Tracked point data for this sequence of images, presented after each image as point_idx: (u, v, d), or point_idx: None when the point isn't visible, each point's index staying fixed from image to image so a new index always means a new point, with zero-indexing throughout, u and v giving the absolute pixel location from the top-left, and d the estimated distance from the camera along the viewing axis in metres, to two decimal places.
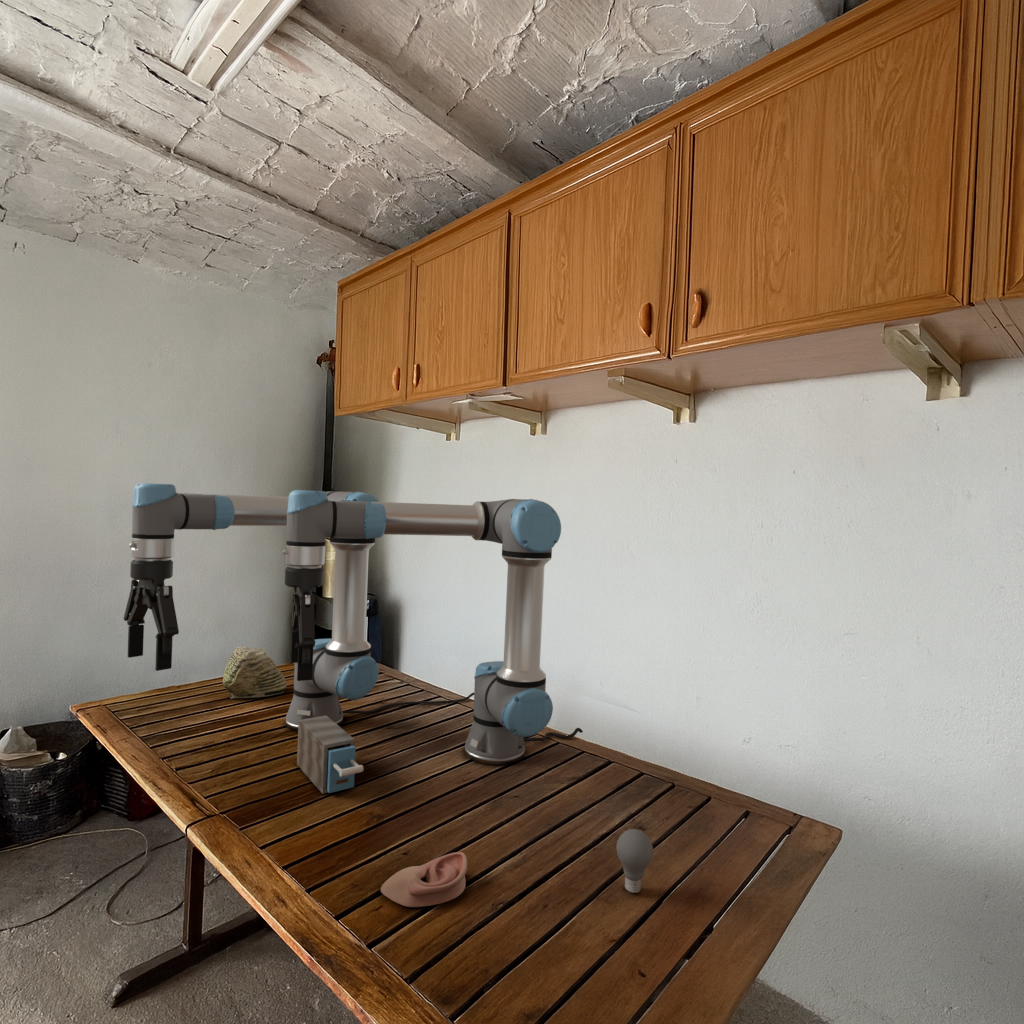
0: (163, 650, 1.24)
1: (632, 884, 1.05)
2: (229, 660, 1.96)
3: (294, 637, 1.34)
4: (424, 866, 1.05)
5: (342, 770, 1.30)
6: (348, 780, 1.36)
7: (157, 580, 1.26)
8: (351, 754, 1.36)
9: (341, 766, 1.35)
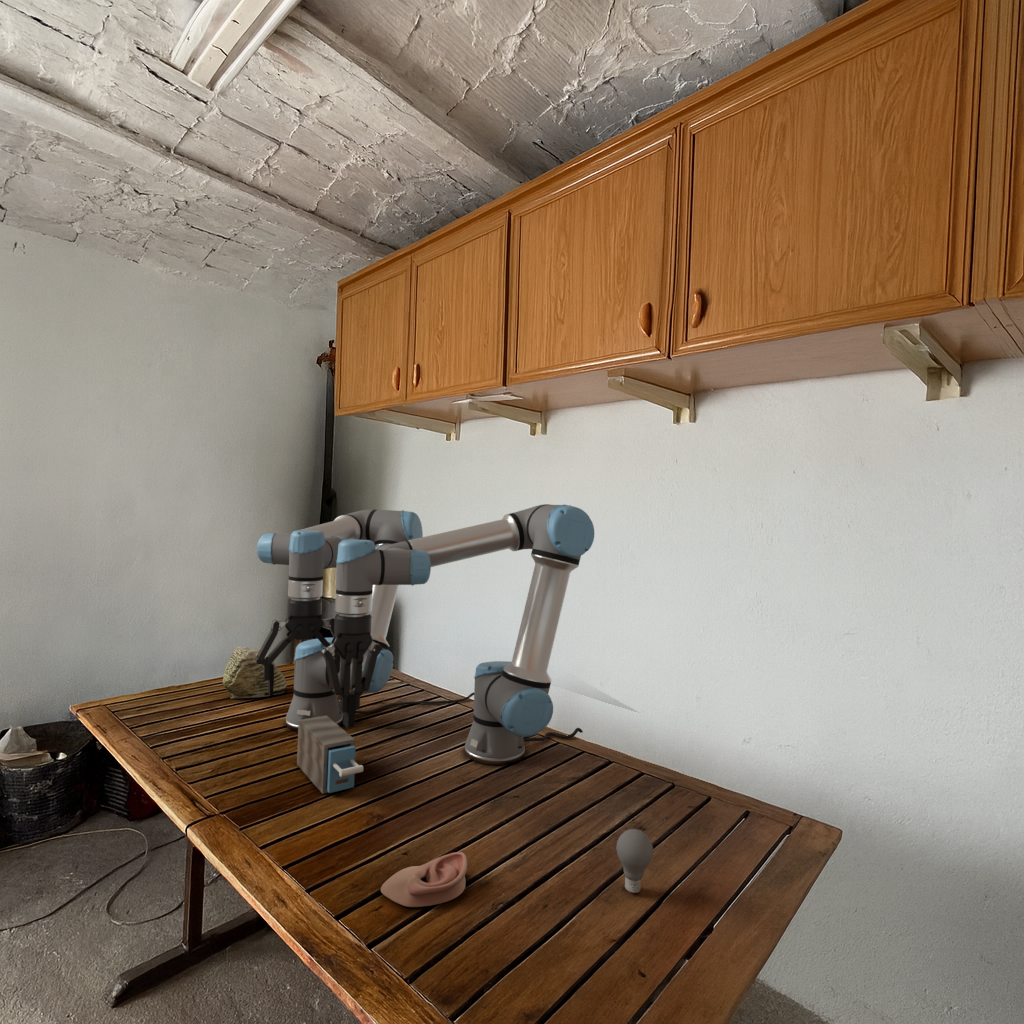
0: (338, 670, 1.48)
1: (632, 884, 1.05)
2: (229, 660, 1.96)
3: None
4: (424, 866, 1.05)
5: (342, 770, 1.30)
6: (348, 780, 1.36)
7: (321, 614, 1.46)
8: (351, 754, 1.36)
9: (341, 766, 1.35)
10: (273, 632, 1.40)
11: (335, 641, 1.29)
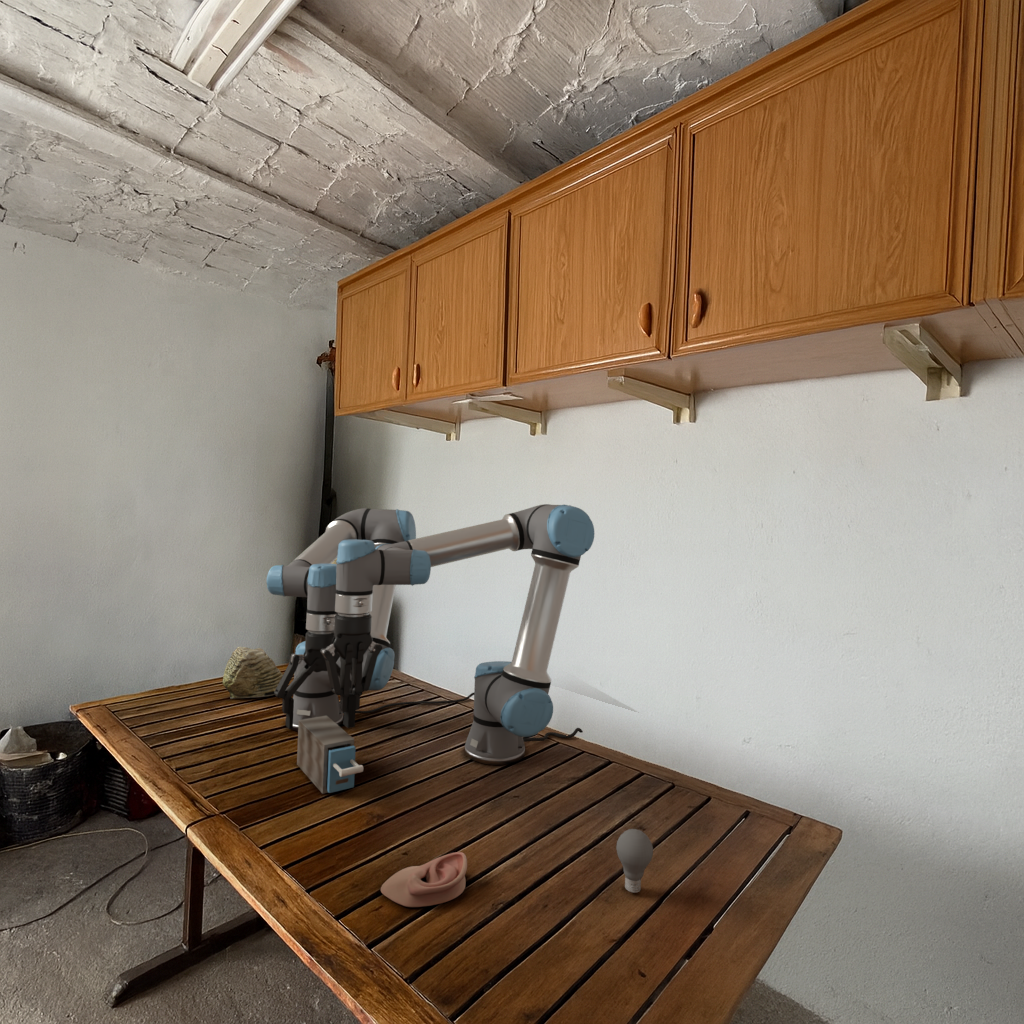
0: None
1: (632, 884, 1.05)
2: (229, 660, 1.96)
3: None
4: (424, 866, 1.05)
5: (342, 770, 1.30)
6: (348, 780, 1.36)
7: None
8: (351, 754, 1.36)
9: (341, 766, 1.35)
10: (293, 666, 1.42)
11: (335, 641, 1.29)
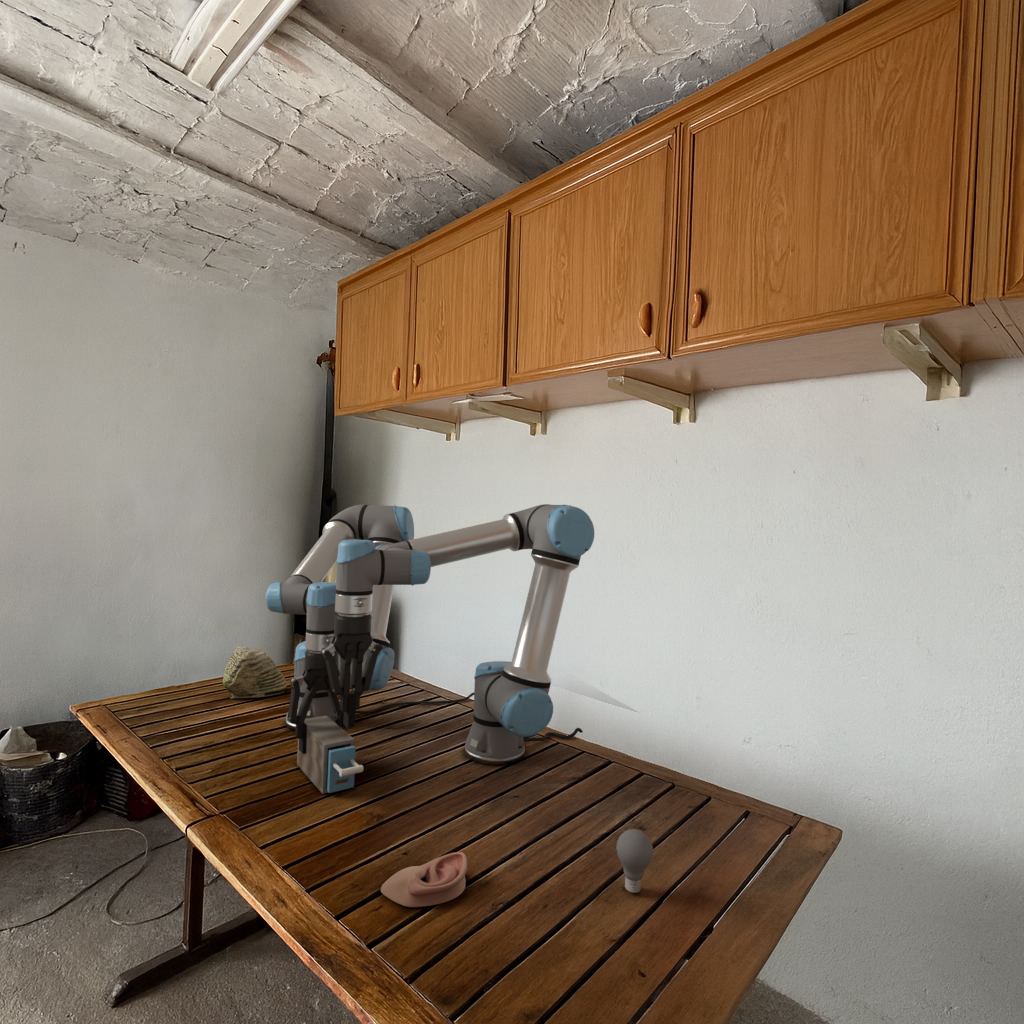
0: None
1: (632, 884, 1.05)
2: (229, 660, 1.96)
3: None
4: (424, 866, 1.05)
5: (342, 770, 1.30)
6: (348, 780, 1.36)
7: None
8: (351, 754, 1.36)
9: (341, 766, 1.35)
10: (296, 690, 1.42)
11: (335, 641, 1.29)
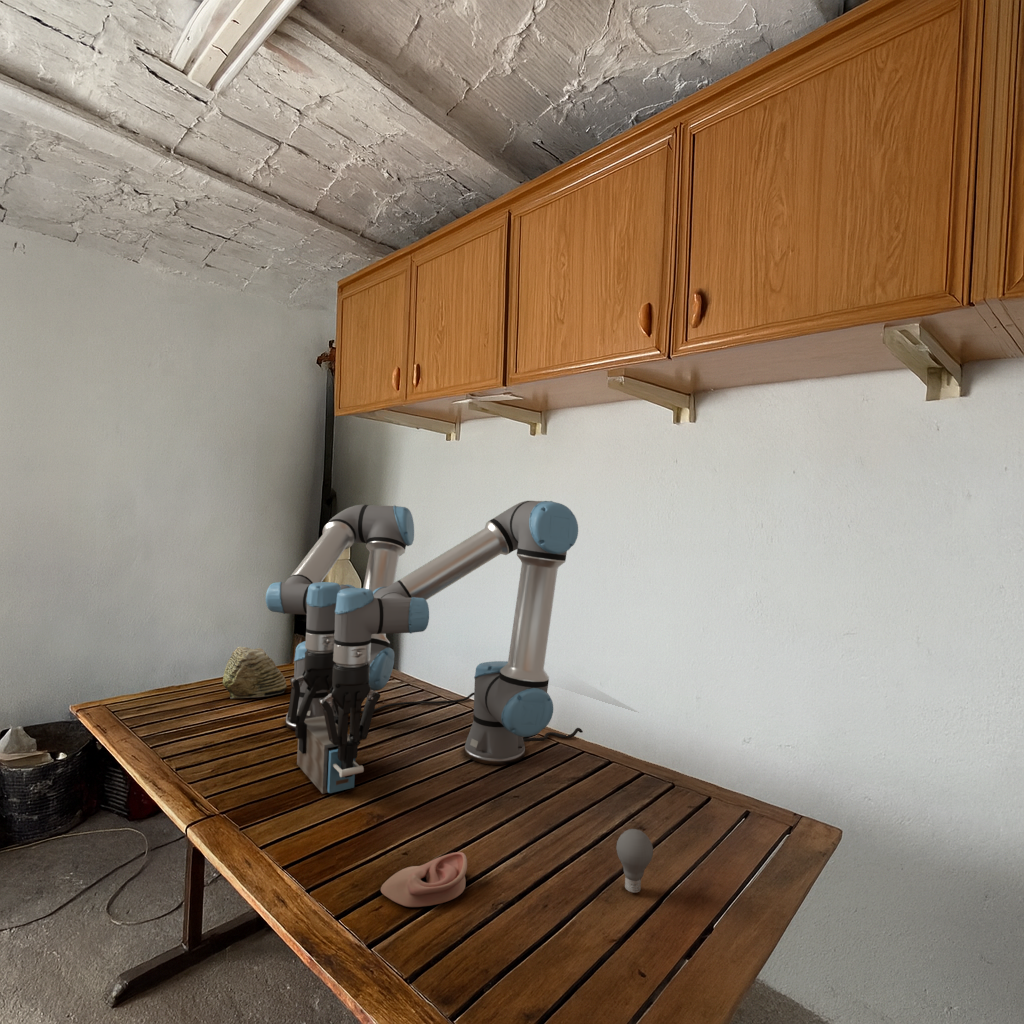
0: None
1: (632, 884, 1.05)
2: (229, 660, 1.96)
3: None
4: (424, 866, 1.05)
5: (342, 770, 1.30)
6: (348, 780, 1.36)
7: None
8: None
9: None
10: (296, 690, 1.42)
11: (333, 691, 1.29)
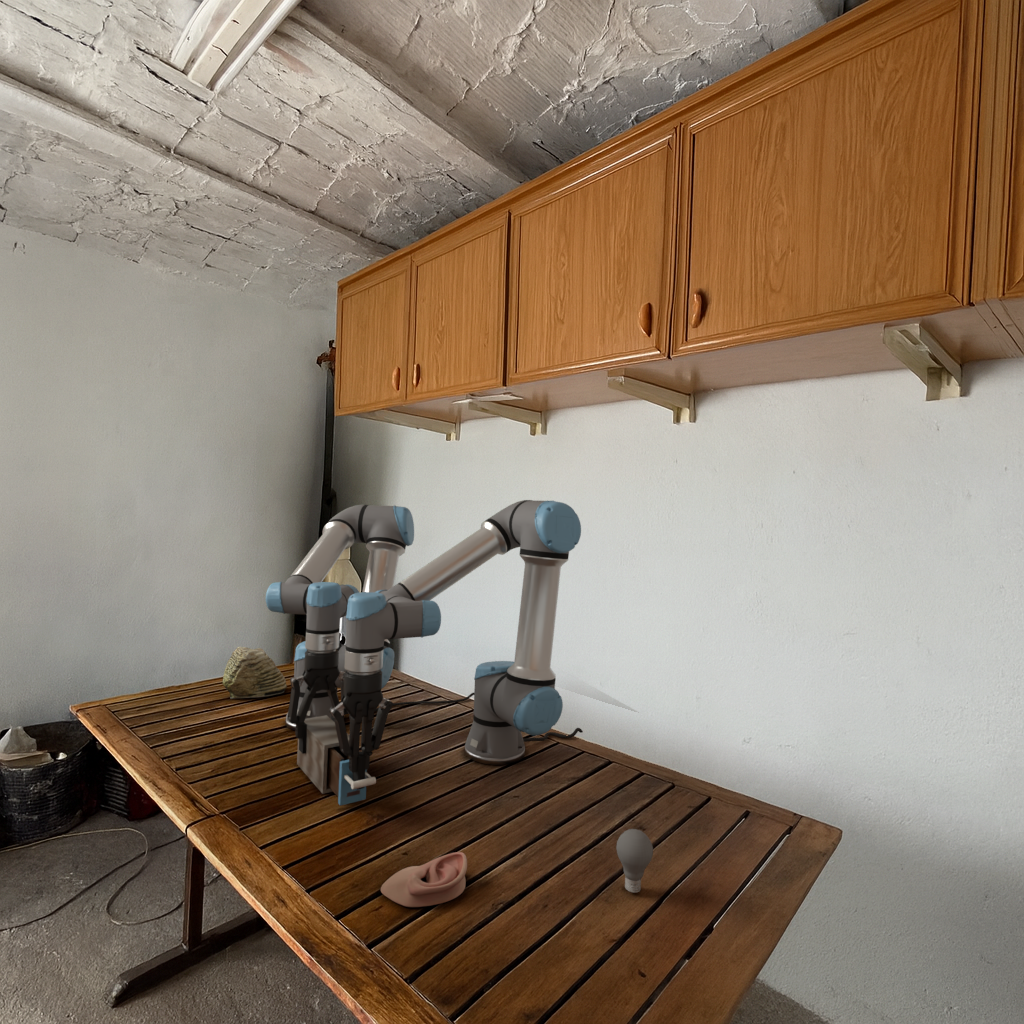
0: None
1: (632, 884, 1.05)
2: (229, 660, 1.96)
3: None
4: (424, 866, 1.05)
5: (354, 782, 1.25)
6: (360, 792, 1.31)
7: None
8: None
9: None
10: (296, 690, 1.42)
11: (344, 700, 1.24)
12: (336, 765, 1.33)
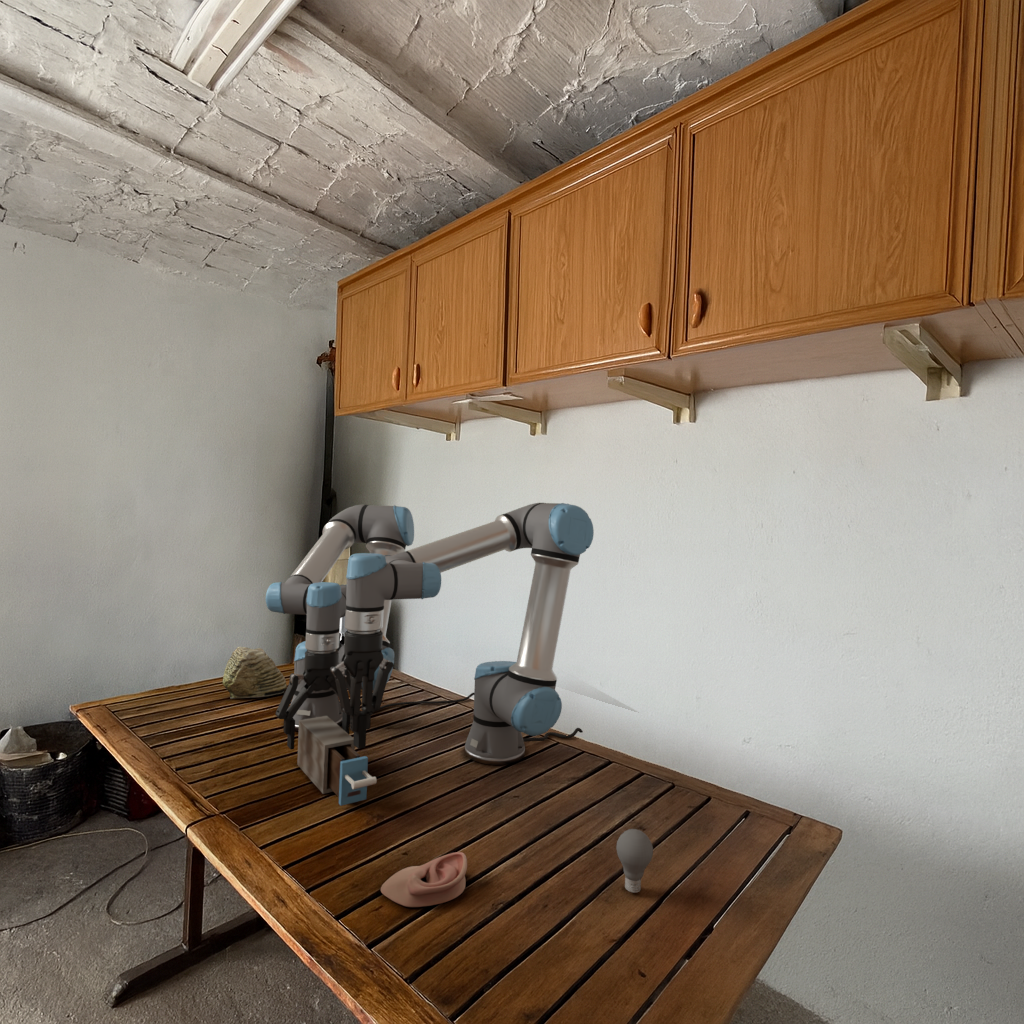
0: None
1: (632, 884, 1.05)
2: (229, 660, 1.96)
3: None
4: (424, 866, 1.05)
5: (355, 782, 1.25)
6: (360, 792, 1.31)
7: None
8: (363, 765, 1.31)
9: (353, 778, 1.30)
10: (293, 686, 1.42)
11: (345, 659, 1.25)
12: (337, 765, 1.32)
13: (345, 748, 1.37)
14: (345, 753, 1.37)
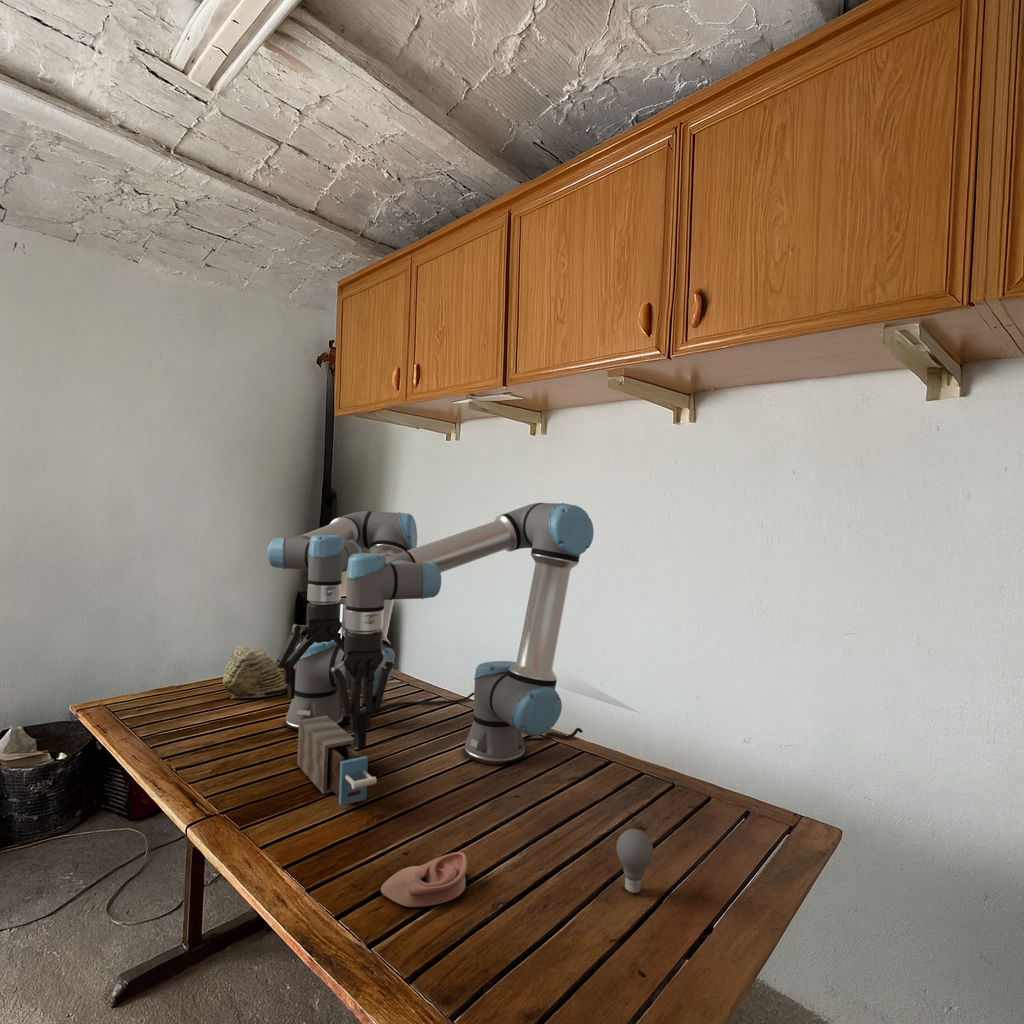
0: None
1: (632, 884, 1.05)
2: (229, 660, 1.96)
3: None
4: (424, 866, 1.05)
5: (355, 782, 1.25)
6: (360, 792, 1.31)
7: None
8: (363, 765, 1.31)
9: (353, 778, 1.30)
10: (294, 636, 1.42)
11: (345, 659, 1.25)
12: (337, 765, 1.32)
13: (345, 748, 1.37)
14: (345, 753, 1.37)
